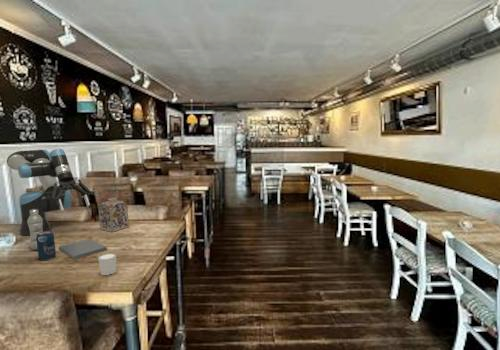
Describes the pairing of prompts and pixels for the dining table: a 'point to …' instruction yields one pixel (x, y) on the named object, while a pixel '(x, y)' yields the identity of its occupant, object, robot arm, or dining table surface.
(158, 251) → the dining table surface
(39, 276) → the dining table surface
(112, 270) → the white short cylinder
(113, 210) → the decorative jar
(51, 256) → the soda can
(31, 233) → the plastic bottle
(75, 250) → the slate board
